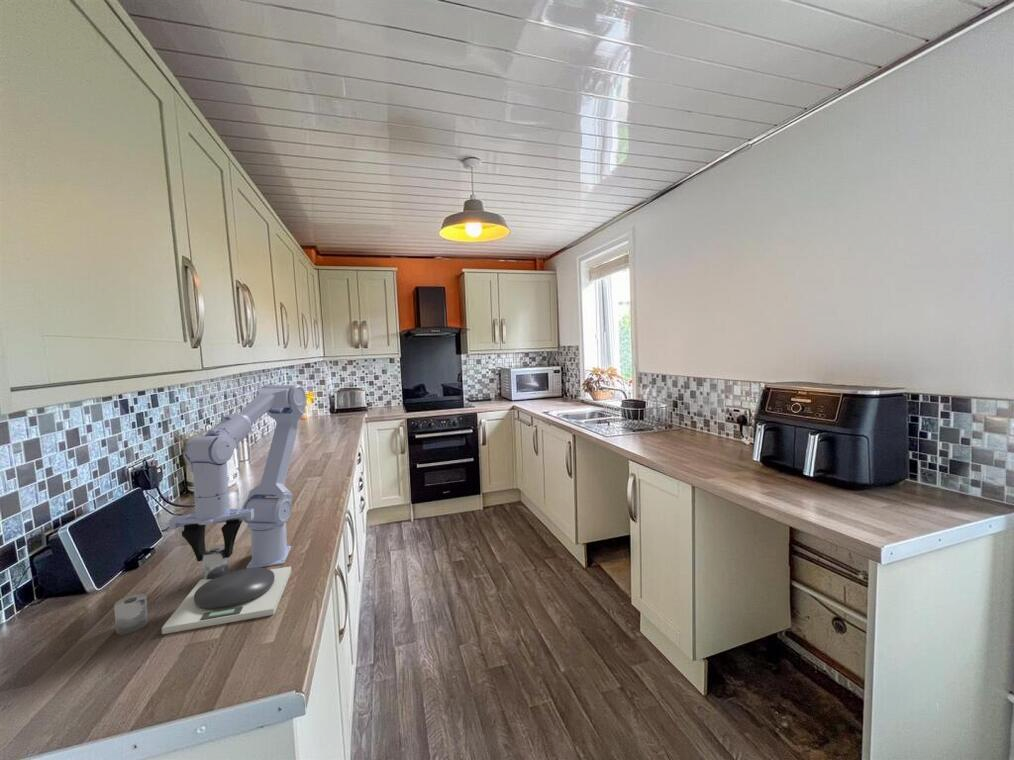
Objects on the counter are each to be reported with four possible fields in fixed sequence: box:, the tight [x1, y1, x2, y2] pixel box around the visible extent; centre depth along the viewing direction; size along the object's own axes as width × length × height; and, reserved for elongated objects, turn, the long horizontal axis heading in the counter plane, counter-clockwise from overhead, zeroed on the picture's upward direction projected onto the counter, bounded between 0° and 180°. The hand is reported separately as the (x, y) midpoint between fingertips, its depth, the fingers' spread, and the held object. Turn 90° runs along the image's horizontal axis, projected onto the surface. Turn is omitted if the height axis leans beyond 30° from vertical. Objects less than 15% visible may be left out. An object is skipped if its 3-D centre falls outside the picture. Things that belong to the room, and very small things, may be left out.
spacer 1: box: [113, 593, 149, 635], centre depth 77 cm, size 4×4×5 cm
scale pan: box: [194, 567, 275, 609], centre depth 86 cm, size 14×14×1 cm
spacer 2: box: [201, 545, 230, 580], centre depth 86 cm, size 4×4×5 cm
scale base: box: [161, 566, 292, 635], centre depth 85 cm, size 17×18×2 cm
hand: (215, 557), depth 86 cm, fingers closed on spacer 2, 4 cm apart
